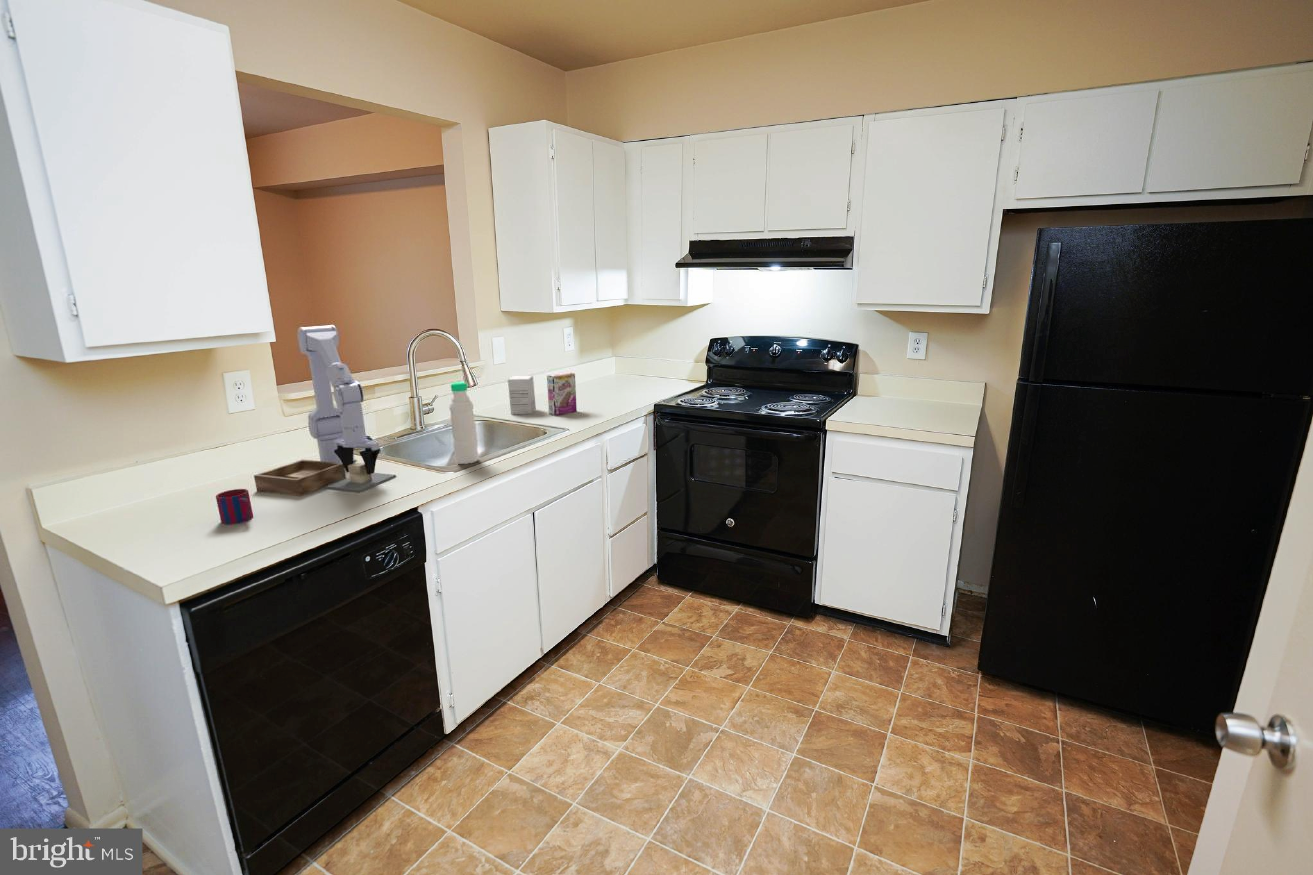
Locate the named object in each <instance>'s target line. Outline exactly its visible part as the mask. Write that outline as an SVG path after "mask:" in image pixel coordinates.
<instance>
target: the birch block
mask: <svg viewBox="0 0 1313 875" xmlns="http://www.w3.org/2000/svg"><path fill="white" fill-rule="evenodd" d="M348 470H349V472H348V475H349V477H350V482H353V483H364V482H366V481H369V480H371V479H372V475H371V474H370V475H368V474H367V472H366V468H365V464H364V461H356V462H353V464H350V465H348Z"/></svg>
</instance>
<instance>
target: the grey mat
mask: <svg viewBox="0 0 1313 875" xmlns="http://www.w3.org/2000/svg"><path fill="white" fill-rule="evenodd" d="M371 475H372V479H371V480H369V481H366V482H364V483H353V482H350V476H349V477H346V478H345V479H342V480H340V481H337V482H335V483H332V484H329V485H327V486H325V489H329V490H336V491H345V492H354V493H360V492H363V491H366V490H368V489H371V488H373V487H375V486H378V485H380V484H382V483H384V482H387V481H390V480H391V479H394V478H396V477H397V474H391V473H390V474H389V473H382V472H381V473H379V472H374V473H372V474H371Z"/></svg>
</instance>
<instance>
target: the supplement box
mask: <svg viewBox="0 0 1313 875" xmlns="http://www.w3.org/2000/svg"><path fill="white" fill-rule="evenodd" d="M534 384H535V383H534V375H513V376H511V377H510V378H508V379H507V385H508V386H507V387H508V394H509V395H508V397H509V406H510V415H532V414H533V413H534V412H535V411H536V409H537V408H536V407H537V406H536V394H535V385H534Z"/></svg>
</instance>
